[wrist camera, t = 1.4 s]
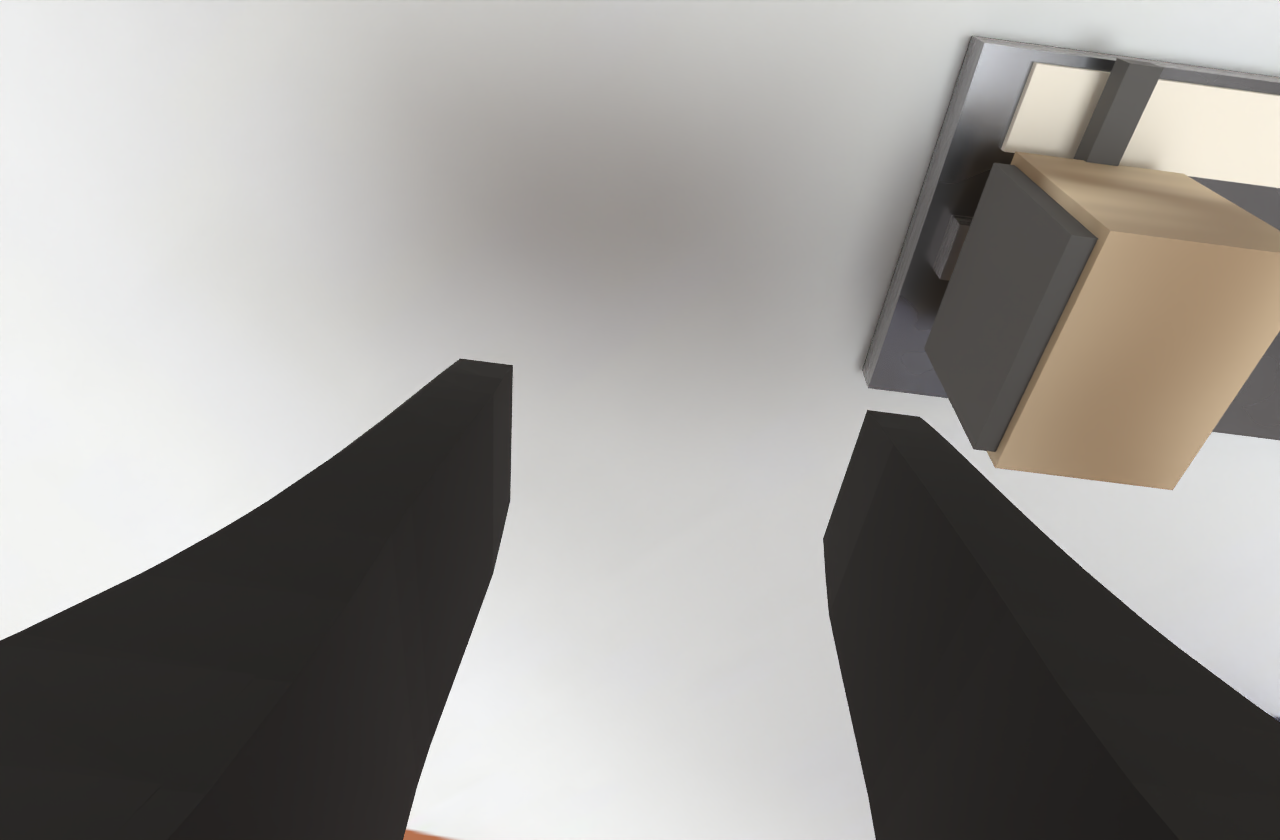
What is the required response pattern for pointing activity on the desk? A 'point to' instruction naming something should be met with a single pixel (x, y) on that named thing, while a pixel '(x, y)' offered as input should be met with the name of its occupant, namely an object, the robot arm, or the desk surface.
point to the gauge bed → (1054, 126)
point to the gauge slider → (1103, 307)
